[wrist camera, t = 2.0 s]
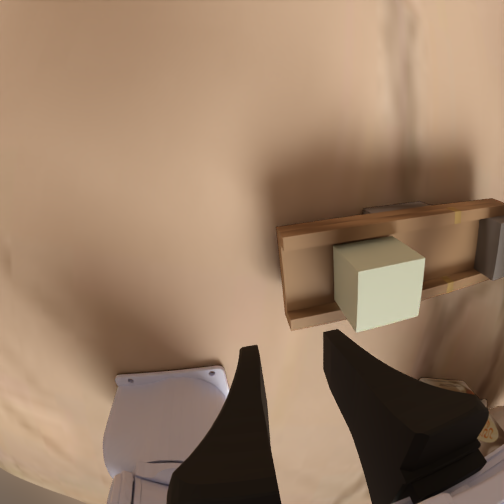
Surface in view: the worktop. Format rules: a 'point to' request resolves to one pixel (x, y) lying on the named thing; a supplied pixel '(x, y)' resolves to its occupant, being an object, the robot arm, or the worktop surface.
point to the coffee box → (491, 432)
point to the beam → (405, 230)
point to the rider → (377, 282)
